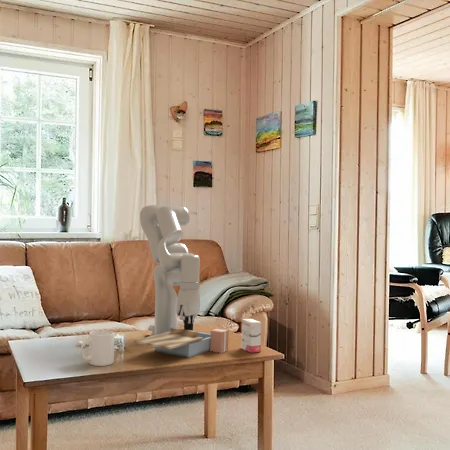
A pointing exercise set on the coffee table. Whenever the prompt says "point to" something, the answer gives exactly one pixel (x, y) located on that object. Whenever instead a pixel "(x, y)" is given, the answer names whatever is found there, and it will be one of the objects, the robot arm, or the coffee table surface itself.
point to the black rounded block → (82, 343)
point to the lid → (171, 338)
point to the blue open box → (190, 347)
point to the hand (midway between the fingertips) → (188, 333)
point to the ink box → (251, 335)
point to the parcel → (219, 340)
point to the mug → (100, 348)
